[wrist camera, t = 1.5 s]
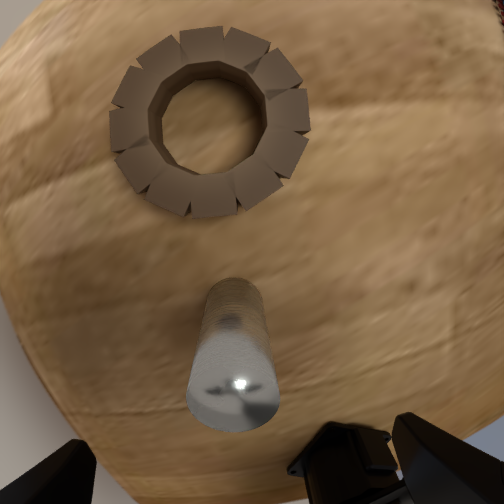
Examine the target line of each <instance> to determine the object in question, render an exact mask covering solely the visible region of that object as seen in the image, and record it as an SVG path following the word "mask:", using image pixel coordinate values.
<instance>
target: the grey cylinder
mask: <svg viewBox="0 0 504 504" xmlns="http://www.w3.org/2000/svg"><path fill="white" fill-rule="evenodd" d="M186 401H187V405H188V408H189V410H190V412H191V413H192V414H193V416H194V417H195V418H196V419H197V420H199V421H200V422H201V423H203V424H204V425H206V426H208V427H210V428H213V429H216V430H220V431H225V432H244V431H249V430H252V429H255V428H258V427H260V426H262V425H263V424H265V423H266V422H268V421H269V420H270V419H271V418H272V417H273V416H274V415H275V413H276V412H277V410H278V407H279V404H280V393H279V388H278V383H277V377H276V372H275V366H274V361H273V356H272V350H271V345H270V339H269V334H268V329H267V323H266V318H265V312H264V307H263V302H262V297H261V294H260V292H259V290H258V289H257V288H256V286H255V285H253V284H252V283H251V282H249V281H247V280H245V279H241V278H228V279H224V280H222V281H220V282H218V283H217V284H216V285H215V286H214V287H213V288H212V289H211V291H210V292H209V295H208V298H207V302H206V307H205V311H204V315H203V320H202V324H201V329H200V333H199V337H198V342H197V346H196V351H195V355H194V360H193V365H192V369H191V374H190V379H189V383H188V388H187V393H186Z"/></svg>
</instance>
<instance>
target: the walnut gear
mask: <svg viewBox="0 0 504 504" xmlns="http://www.w3.org/2000/svg"><path fill="white" fill-rule="evenodd" d="M270 43H271V42H268V41H266V40H263V39H261V38H259V37H256V36H254V35H251V34H249V33H246V32H243V31H241V30H238V29H235V28H233V27H231V28H230V30H229V31H228V33H227V35H226V36H225V38H224V36H223V26H217V27H207V28H199V29H191V30H185V31H180V44H179V43H178V42H177V41H176V39H175V38H174V37H173V36H172V35H170V36H168V37H167V38H165V39H164V40H162V41H161V42H159V43H158V44H156V45H155V46H153V47H152V48H150V49H149V50H148V51H146V52H145V53H143V54H142V55H141V56H139V57H138V58H136V60H137V61H138V62H139V64H140V65H141V66H142V68H143V69H144V70H143V69H140V68H137V67H134V66H130V67H129V69H128V70H127V72H126V74H125V76H124V78H123V80H122V82H121V84H120V86H119V88H118V90H117V92H116V94H115V96H114V98H113V100H112V102H111V103H113V104H115V105H116V106H118V107H120V108H121V109H116V110H112V111H109V117H110V138H111V152H115V153H122V154H120V155H119V156H118V157H117V158H116V159H115V160H114V161H115V162H116V164H117V165H118V166H119V168H120V169H121V171H122V172H123V174H124V175H125V177H126V178H127V180H128V181H129V183H130V184H131V185H132V187H133V188H134V190H135V191H136V193H137V194H140V193H144V192H147V194H146V196H145V199H144V200H146V201H148V202H151V203H153V204H155V205H157V206H160V207H162V208H164V209H166V210H168V211H171V212H173V213H175V214H177V215H180V216H182V217H184V216H186V215H187V214H188V213H189V212H190V211H192V219H195V218H205V217H215V216H226V215H237V199H238V200H239V202H240V203H241V205H242V206H243V208H244V209H245V210H246V211H247V210H249V209H250V208H252V207H253V206H255V205H256V204H258V203H259V202H260V201H262V200H263V199H265V198H266V197H268V196H269V195H271V194H272V193H274V192H275V191H277V190H278V189H280V188H281V187H283V186H284V185H283V184H282V182H281V181H280V179H279V178H278V177H277V176H279V177H281V178H287V179H290V177H291V175H292V173H293V171H294V169H295V167H296V165H297V163H298V161H299V159H300V157H301V155H302V153H303V151H304V149H305V147H306V145H307V143H308V141H309V139H308V138H306V137H304V136H302V135H304V134H306V133H307V132H309V131H311V128H310V117H309V107H308V98H307V89H298V87H299V86H300V85H301V83H302V82H303V80H302V78H301V77H300V76H299V74H298V73H297V72H296V70H295V69H294V68H293V66H292V65H291V64H290V63H289V61H288V60H287V59H286V57H285V56H284V55H283V54H282V52H281V51H280V50H279V49H278V48H276V49H274V50H272V51H271V52H269V53H268V51H269V47H270ZM211 78H224V79H226V80H229V81H231V82H234V83H236V84H239V85H241V86H243V87H245V88H246V89H247V90H248V92H249V93H250V94H251V95H252V97H253V98H254V100H255V101H256V102H257V104H258V105H259V106H260V108H261V117H262V129H263V134H262V136H261V138H260V140H259V142H258V144H257V146H256V148H255V150H254V152H253V154H252V155H251V156H250V157H248V158H247V159H245V160H244V161H242V162H241V163H239V164H238V165H237V166H235V167H234V168H232V169H231V170H229V171H228V172H224V173H213V174H204V175H200V174H198V173H196V172H194V171H191V170H189V169H187V168H185V167H182V166H180V165H178V164H177V163H176V161H175V160H174V158H173V157H172V156H171V154H170V153H169V151H168V150H167V149H166V147H165V146H164V144H163V135H162V116H163V114H164V112H165V110H166V108H167V106H168V104H169V102H170V100H171V99H172V97H173V95H174V94H176V93H177V92H179V91H180V90H182V89H183V88H184V87H186V86H187V85H189V84H190V83H192V82H193V81H195V80H202V79H211Z"/></svg>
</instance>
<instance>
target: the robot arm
mask: <svg viewBox="0 0 504 504" xmlns="http://www.w3.org/2000/svg"><path fill="white" fill-rule="evenodd" d="M332 428H333V429H332ZM391 438H392V442H393V445H394V448H395V451H396V454H397V458H398V461H399V464H400V467H401V471H402V474H403V478H402V480H399V478H398V476H397V474H396V472H395V471H396V470H397V469H398V465H397V463H396V461H395V459H394V457H393V455H392V453H391V451H390V449H389V447H388V445H387V443H388V442H389V441H390V440H391ZM96 464H97V461H96V457H95V455H94V454H93V452H92V451H91V449H90V447H89V446H88V444H87V443H86V442H85V441H84V440H79V439H72V440H70V441H69V442H67V443H66V444H65V445H63V446H62V447H61V448H59V449H58V450H56V451H55V452H54V453H52V454H51V455H50V456H48V457H47V458H45V459H44V460H43V461H41V462H40V463H38V464H37V465H36V466H35V467H33V468H31V469H30V470H29V471H27V472H26V473H24V474H23V475H21V476H20V477H19V478H18V479H16V480H14V481H13V482H11V483H10V484H9V485H7V486H6V487H4V488H3V489H1V490H0V504H91V502H92V495H93V487H94V479H95V471H96ZM287 474H288V475H292V476H298V477H304V480H305V485H306V490H307V494H308V499H309V504H504V462H503V461H501V462H500V460H499V459H497V458H495V457H493V456H491V455H489V454H487V453H485V452H483V451H481V450H479V449H477V448H475V447H473V446H471V445H470V444H468V443H466V442H464V441H462V440H460V439H458V438H457V437H455V436H453V435H451V434H449V433H447V432H446V431H444V430H442V429H440V428H438V427H436V426H435V425H433V424H431V423H429V422H428V421H426V420H424V419H422V418H420V417H419V416H417V415H415V414H413V413H412V412H406V413H403V414H400V415H397V416H396V418H395V422H394V426H393V430H392V437H391V435H390V433H388V432H382V431H377V430H371V429H365V428H359V427H354V426H349V425H344V424H339V423H329V424H327V425H326V426H325V427H324V428H323V429H322V430H321V431H320V433H319V434H318V435H317V436H316V437H315V438H314V439H313V441H312V442H311V443H310V444H309V445H308V446H307V447H306V448H305V450H304V451H303V452H302V453H301V454H300V455H299V456H298V457H297V458H296V459H295V460H294V461H293V462H292V463H291V465H290V466H289V467H288V468H287Z"/></svg>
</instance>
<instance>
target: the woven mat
mask: <svg viewBox="0 0 504 504" xmlns="http://www.w3.org/2000/svg"><path fill="white" fill-rule="evenodd" d="M495 1H496V4H497V6H498V9H499V12H500V15H501V18H502V22H503V25H504V11H503V10H504V6H503V5H502V4H504V0H495ZM501 3H502V4H501Z"/></svg>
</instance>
